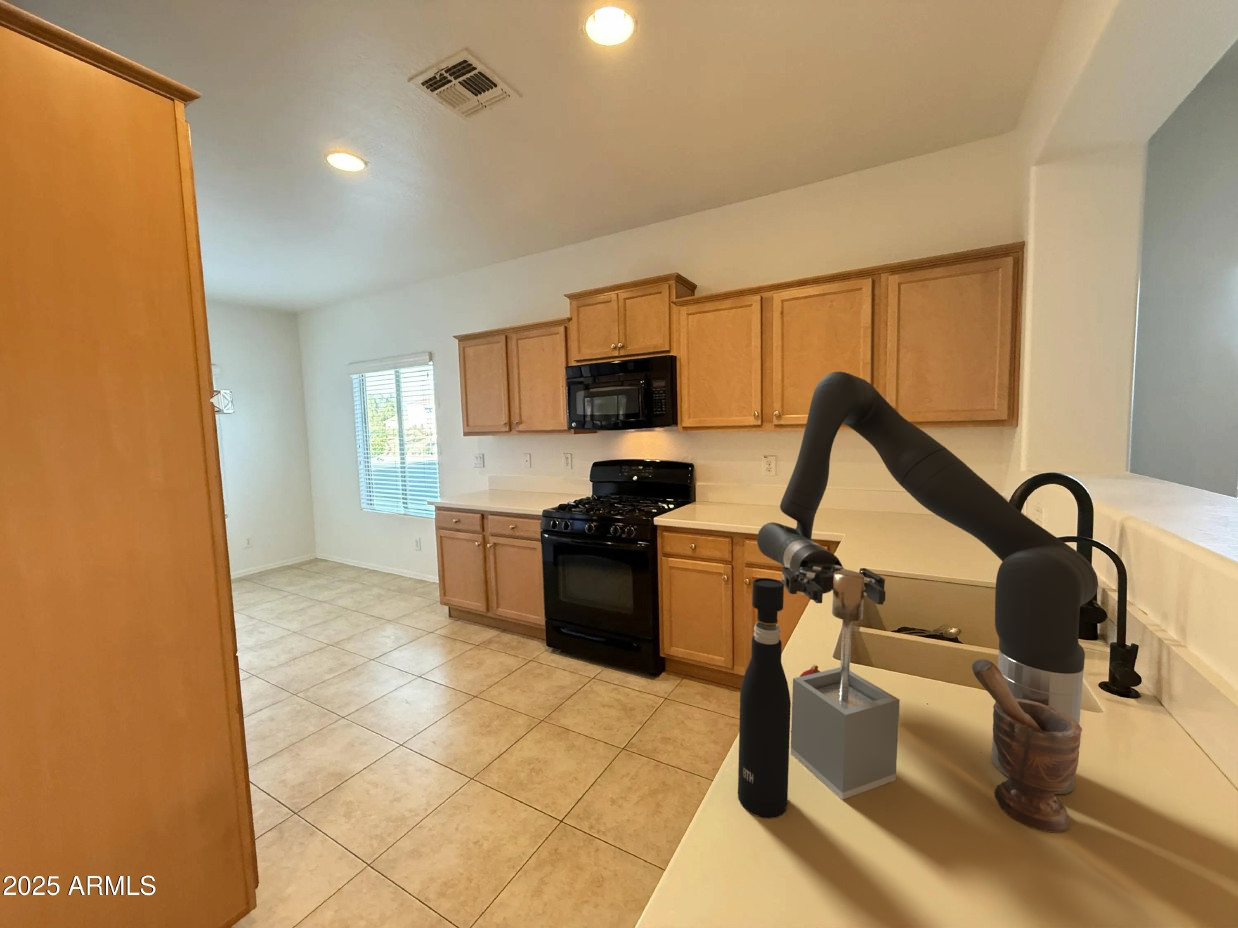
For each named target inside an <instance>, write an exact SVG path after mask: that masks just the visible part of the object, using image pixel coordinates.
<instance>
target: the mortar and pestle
mask: <svg viewBox="0 0 1238 928" xmlns="http://www.w3.org/2000/svg"><path fill="white" fill-rule="evenodd" d="M971 670H972V671H973V675H974V676H975V678H976V679H977V681H978V682H979V683H980V685H981V686H982V687H983V688H984V689H985V691H986V692H988V693H989V695H990V696H991V697H992V699H994V701H996V702H994V704H993V707H992V709H993V712H992V721H993V723H992V739H993V738H994V742H995V746H996V748H997V751H998V760H999V763H1000V765H1001V767H1002V768H1003V769H1004V770H1005V771H1006V772H1007V773H1008V774H1009V776H1010V778H1009V779H1007V780H1005V781H1002V782H1001V783H999V784H997V785H996V787H995V789H994V792H993V793H994V798H995V799H996V801H997V804H998V805H999V808H1001V809H1002V810H1003V811H1005V813H1006V814H1007V815H1008V816H1010V817H1011V818H1013V819H1014V820H1016V821H1017V822H1020V823H1022V824H1024V825H1026V826H1028V827H1031V828H1034V829H1037V830H1040V831H1044V832H1049V833H1060V832H1063V831H1066V830H1067V828H1069V826H1070V821H1069V815H1068V814H1069V813H1068V812H1067V811H1068V810H1067V808H1066V806H1065V805H1064V804H1063V803H1062V802H1061V801H1060V799H1059V798H1057V797H1056V794H1054V793H1055V792H1058V791H1061V790H1064V789H1065V788H1066V787H1067V786H1068V785H1069V784H1070V780H1071V779H1072V778H1073V776H1074V775H1075V776H1076V772H1077V769H1078V765H1079V758H1080V746H1081V737H1082V736H1081V734H1082V732H1083V727H1081V724H1080V723H1079V724H1078V723H1077V722H1076V721H1075V720H1074V719H1073V718H1071V717H1070V716H1068V715H1067V714H1065V713H1063V712H1060V711H1058V710H1056V709H1055V708H1053V707H1049V706H1046V705H1044V704H1041V703H1038V702H1034V701H1029V700H1023V699H1017V698H1015V697H1014V696H1013V694H1012V692H1011V690H1010V688H1009V686H1008V684H1007V682H1006V680H1005V678H1004V677H1003V675H1002V673H1001V671H1000V670H999V669H998V665H996V664H995V663H993V662H992V661H991V660H989V659H985V658H980V659H977V660H975V661H974V662H973V663H972V664H971Z"/></svg>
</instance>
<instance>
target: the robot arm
mask: <svg viewBox="0 0 1238 928" xmlns="http://www.w3.org/2000/svg"><path fill="white" fill-rule="evenodd" d="M842 424H844V425H845V426H847V427H848V428H850V429H852V430H853V431H854V432H856V434H858V435H859V436H861V437H862V438H863V439H864V440H866V441H867V442H868V443H869V444H870V445H871V446H872V447H873V448H874V449H875V450H876V452H877V454H878V455H879V457H880V459H881V461H882V462H883V463H884V465H885V468H886V469H887V471H888V472H889V474H890V475H891V476H892V478H893V479H894V480H895V481H896V482H897V484H899V485H900V486H901V487H902V488H903V489H904V490H905V491H906V492H907V493H908V494H909V495H910V496H911V497H912V498H913V499H914V500H915V501H916V502H918V503H919V504H920V505H921V506H923V508H925V509H927V510H928V511H929V512H931V513H932V514H934V515H936V516H937V517H939V518H941V519H942V520H944V521H946V522H948V523H950V524H952V525H953V526H955V527H957V528H959V529H961V530H962V531H964V532H966V533H968V534H970V535H971V536H972V537H974V538H975V539H977V540H978V541H979V542H981V543H982V544H983V545H985V546H986V547H987V548H988V549H989V550H990V551H991V552H992V553H993V554H994V555H995V556H997V558H998V559H999V560H1000V561H1002V562H1001V563H1000V565H999V567H998V570H997V575H996V578H995V579H996V580H995V590H994V591H995V594H994V627H995V632H996V634H997V636H998V657H997V668H998V669H999V670H1000V671H1001V673H1002V675H1003V677H1004V678H1005V680H1006V682H1007V684H1008V686H1009V688H1010V690H1011V692H1012V694H1013V696H1014V697H1015V698H1017V699H1023V700H1029V701H1034V702H1038V703H1041V704H1044V705H1046V706H1049V707H1053V708H1055V709H1056V710H1058V711H1060V712H1063V713H1065V714H1067V715H1068V716H1070V717H1071V718H1073V719H1074V720H1075V721H1076V722H1077V723H1078V724H1079V725H1080V723H1081V722H1080V721H1081V709H1082V699H1083V698H1082V695H1083V683H1084V682H1083V681H1084V672H1085V671H1084V670H1085V659H1086V658H1085V657H1086V653H1085V649H1084V648H1083V646H1082V645H1081V644H1080V642H1079V627H1080V626H1079V625H1080V613H1081V607H1082V606H1083V605H1086V604H1087V603H1088V602H1089V601H1092V599H1093V598H1094V597H1095V595H1096V594H1097V591H1098V589H1099V580H1098V575H1097V573H1096V571H1095V568H1094V567H1093V565H1092V564H1091V563H1090V561H1089V560H1087V558H1086V557H1085V556H1084V555H1082V554H1081V553H1080V552H1078V551H1077V550H1075V549H1074V548H1073V547H1072V546H1071V545H1068V544H1067V543H1066V542H1064V541H1062V540H1061V539H1060V538H1058V537H1057V536H1055V535H1054V534H1052V533H1051V532H1050V531H1048V530H1046V529H1045V528H1044V527H1042V526H1040V525H1039V524H1038V523H1036V522H1035V521H1033V520H1032V519H1030V518H1029V517H1028V516H1026V515H1025V514H1023V513H1022V512H1021V511H1020V510H1018V509H1017V508H1016V507H1015V506H1013V504H1011V502H1009V501H1008V500H1007V499H1006V498H1005V496H1002V495H1001V493H1000V492H998V491H997V490H996V489H995V488H994V487H992V485H990V484H989V483H988V482H987V481H985V480H984V479H983V478H982V477H981V476H980V475H978V474H977V473H976V472H975V471H974V470H972V468H971V467H969V466H968V465H967V464H966V463H965V462H963V460H961V459H960V458H959V457H958V456H956V455H955V454H954V453H953V452H952V451H951V450H949V449H948V448H946V447H945V445H943V444H941V443H940V441H939V442H938V440H936V439H935V438H933V437H932V436H931V435H930V434H928V433H926V432H925V431H924V430H923V429H921V428H919V427H918V426H916V425H915V424H914V423H912V422H910V421H909V420H908V419H906V417H904V416H903V415H901V414H900V413H899V412H898V410H896V409H895V408H894V407H893V406H892V405H891V404H890V403H889V402H888V401H887V400H886V399H885V398H884V397H883V396H882V395H881V393H880V392H879V391H878V390H877V389H876V388H875V387H874V385H873V384H871V382H868V380H865V379H864V378H861V377H859V376H856V375H853V374H852V373H848V372H845V371H833V372H830V373H827V374H826V375H825V376H823V377H822V378H821V379H820V381H819V382H818V383H817V385H816V387H815V388H814V391H813V395H812V397H811V400H810V406H809V411H808V415H807V419H806V424H805V428H804V432H803V436H802V441H801V445H800V448H799V453H798V456H797V460H796V462H795V466H794V469H793V470H792V471H793V472H792V474H791V477H790V478H789V481H788V484H787V486H786V490H785V491H784V494H783V495H782V498H781V501H780V504H779V505H780V506H779V509H780V511H781V512H782V513H783V514H784V515H786V516H787V517H789V518H791V519H793V520H794V521H796V527H795V528H794V527H791V526H787V525H784V524H782V523H778V522H775V521H774V522H772V521H771V522H767V523H765V524H764V525H763V526H761V528H760V529H759V530H758V532H757V537H756V544H757V546H758V550H759V551H760V552H761V554H762V555H764V556H765V557H767V558H769V559H771V560H773V561H774V562H777V563H779V564H781V565H782V566H783V567H781V582H782V583H783V584H784V589H786V591H787V592H788V593H789V594H791V595H797V594H798V592H800V593H801V595H802V596H806V597H808V599H809V600H812V601H813V602H814V603H816V604H823V595H824V594H825V595H826V594H828V593H831V592H833V579H834V572H836V571H852V572H857V573H860V574H862V575H864V596H865V597H866V598H868V599H870V601H872V602H874V604H875V605H884V602H885V601H886V590H885V585H886V584H885V583H886V579H885V578H884V577H883V576H880V575H878V574H877V573H875V572H873V571H871V569H867V568H866V567H865V568H863V567H862V568H860V570H859V571H860V572H859V571H854V570H851V569H846V568H845V567H843V564H842V562H841V561H840V559H839V558H838V557H837V555H836V554H834V553H832V552H831V551H829V550H828V549H826V548H825V547H823V546H822V545H820V544H819V543H817V542H814V541H812V536H813V527H814V522H815V517H816V514H817V511H818V509H819V506H820V505H821V502H822V500H823V497H824V496H825V492H826V489H827V486H828V482H829V476H830V475H829V474H830V464H831V453H832V448H833V445H834V442H835V438H836V436H837V435H838V432H839V430H840V428H841V426H842ZM994 701H995V700H994ZM995 702H996V701H995ZM995 702H994V703H995ZM991 742H992V743H991V745H992V746H991V761H992V763H993V765H994V766H995V767H996V768H997V769H998V771H1000V772H1001V773H1003V775H1005V776H1007V777H1008V778H1009V779H1010V776H1009V774H1008V773H1007V772H1006V771H1005V770H1004V769H1003V768H1002V767H1001V765H1000V763H999V760H998V751H997V748H996V746H995V742H994V738H993V737H992V741H991ZM1075 779H1076V774H1075V775H1074V776H1073V778H1072V779H1071V780H1070V784H1069V785H1068V786H1067V787H1066V788H1065V789H1064V790H1061V791H1058V792H1055V793H1054V795H1066V794H1069V793H1071V792H1073V790H1075V781H1076V780H1075Z"/></svg>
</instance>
